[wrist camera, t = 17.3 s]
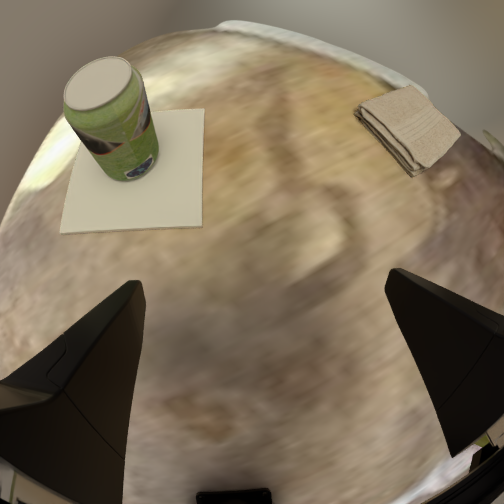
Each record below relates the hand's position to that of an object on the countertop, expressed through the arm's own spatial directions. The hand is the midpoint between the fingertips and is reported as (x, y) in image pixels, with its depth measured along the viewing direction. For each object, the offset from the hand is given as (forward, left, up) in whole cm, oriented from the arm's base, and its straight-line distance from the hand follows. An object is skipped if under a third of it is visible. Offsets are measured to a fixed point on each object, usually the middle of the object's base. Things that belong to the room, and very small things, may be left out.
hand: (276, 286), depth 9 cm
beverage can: (-10, +14, -13) cm, 22 cm away
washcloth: (+25, +23, -14) cm, 37 cm away
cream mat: (-10, +15, -14) cm, 22 cm away
